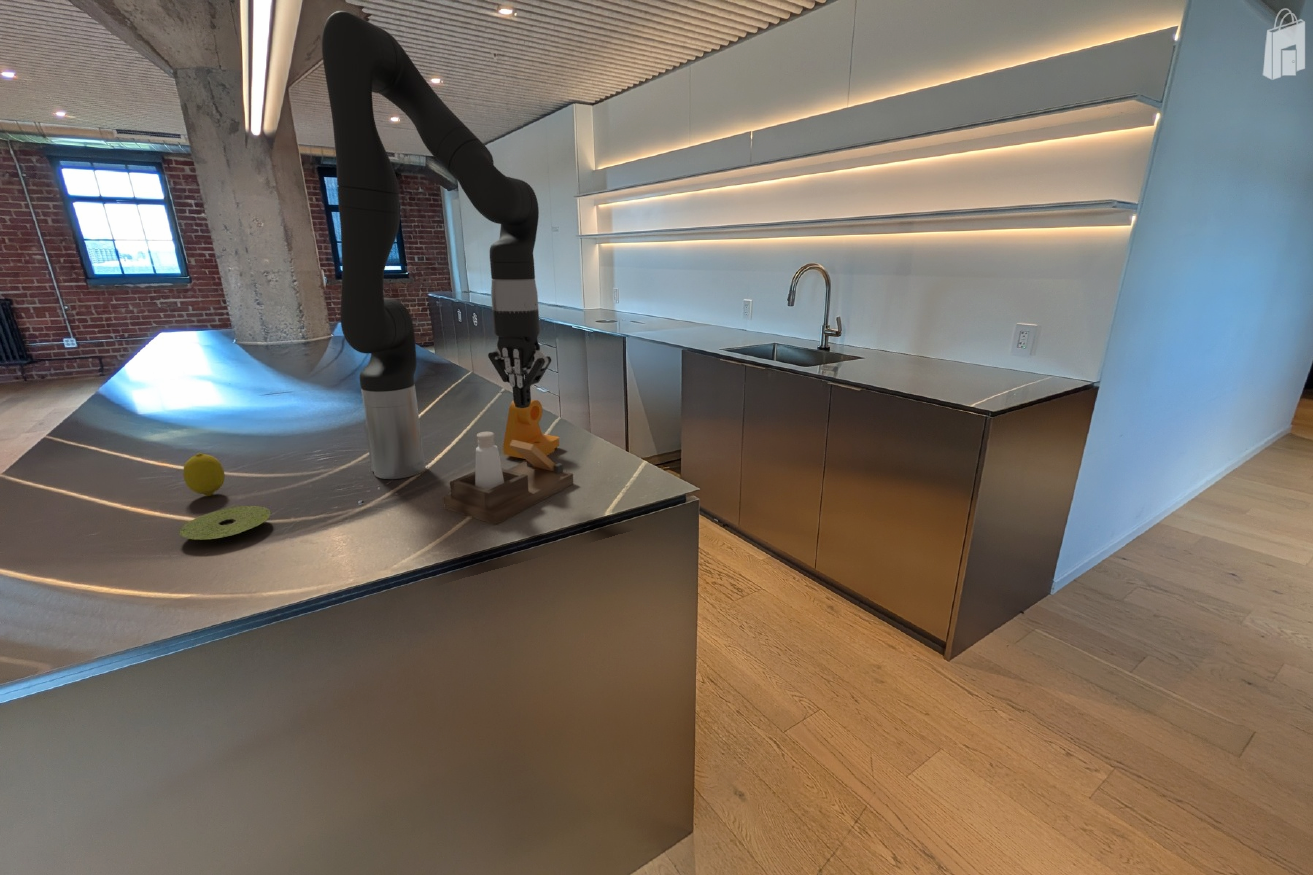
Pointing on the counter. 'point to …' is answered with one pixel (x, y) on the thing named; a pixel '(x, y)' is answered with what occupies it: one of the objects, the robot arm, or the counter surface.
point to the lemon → (203, 474)
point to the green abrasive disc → (225, 522)
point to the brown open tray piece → (506, 492)
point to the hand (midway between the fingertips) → (522, 406)
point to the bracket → (527, 429)
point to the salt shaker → (487, 462)
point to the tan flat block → (533, 455)
